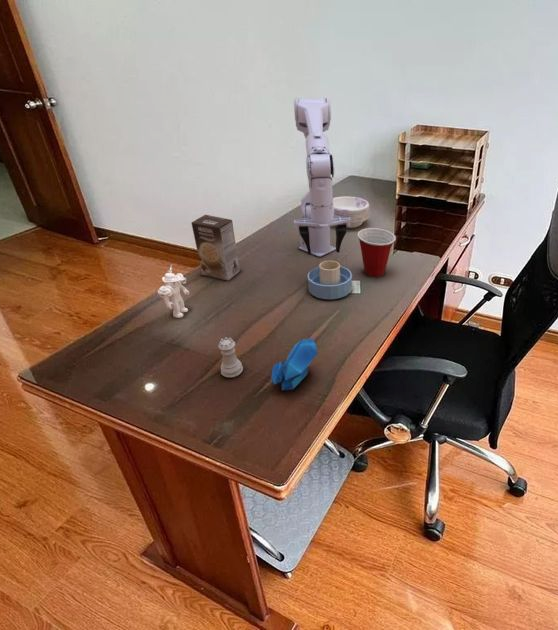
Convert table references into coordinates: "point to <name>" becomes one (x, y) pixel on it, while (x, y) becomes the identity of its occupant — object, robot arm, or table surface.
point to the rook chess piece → (229, 359)
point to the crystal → (294, 365)
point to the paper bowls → (351, 209)
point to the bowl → (330, 290)
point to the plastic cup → (375, 249)
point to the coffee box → (216, 247)
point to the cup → (329, 273)
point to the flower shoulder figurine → (174, 292)
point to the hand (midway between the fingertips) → (323, 251)
